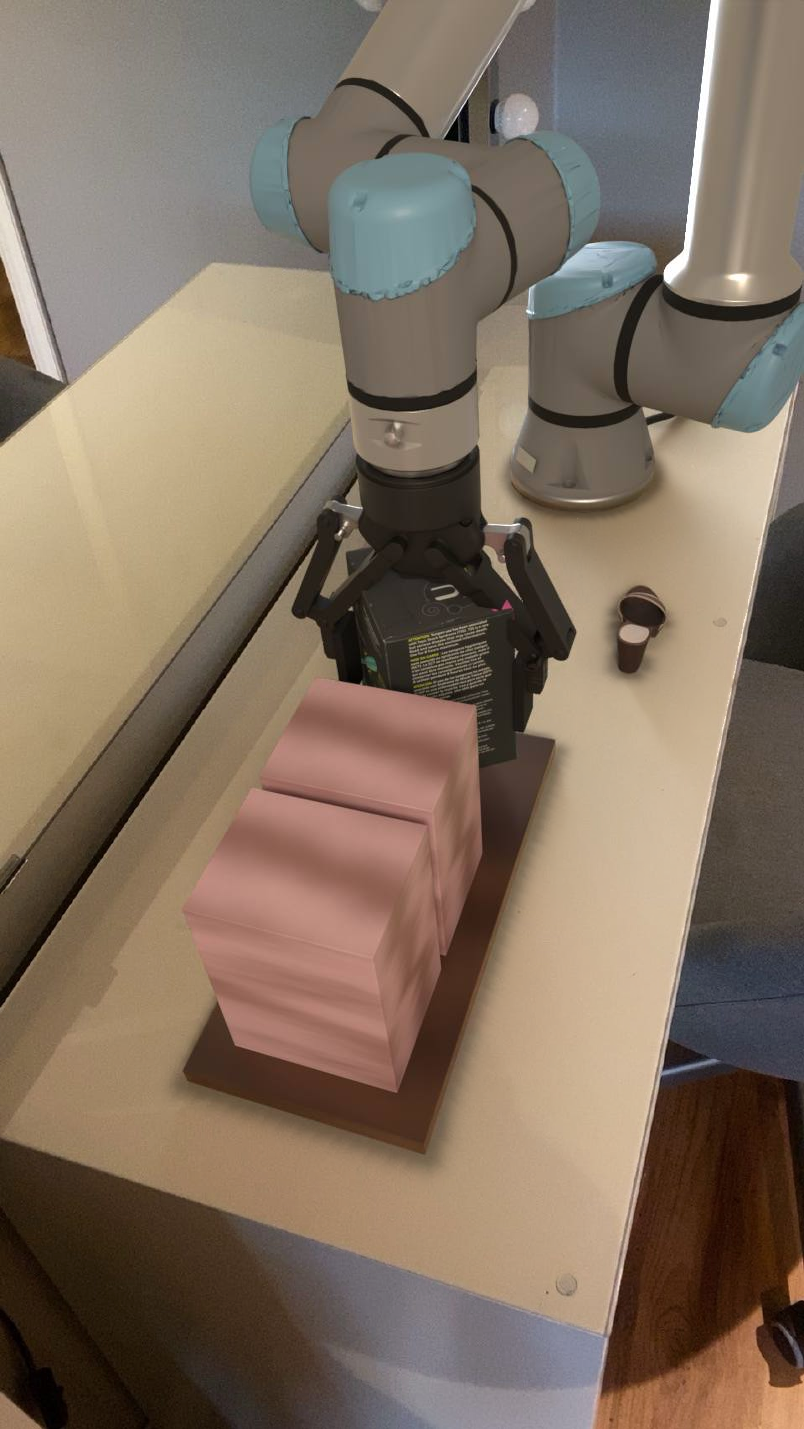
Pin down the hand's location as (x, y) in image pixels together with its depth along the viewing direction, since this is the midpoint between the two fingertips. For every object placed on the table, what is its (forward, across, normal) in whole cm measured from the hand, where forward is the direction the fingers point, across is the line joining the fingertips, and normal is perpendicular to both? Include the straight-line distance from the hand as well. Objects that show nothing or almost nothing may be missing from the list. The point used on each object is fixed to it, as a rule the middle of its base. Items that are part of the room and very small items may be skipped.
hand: (436, 703), depth 78 cm
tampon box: (+4, 0, +1) cm, 4 cm away
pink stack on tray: (+8, 0, -12) cm, 14 cm away
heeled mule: (+8, +12, +21) cm, 25 cm away
